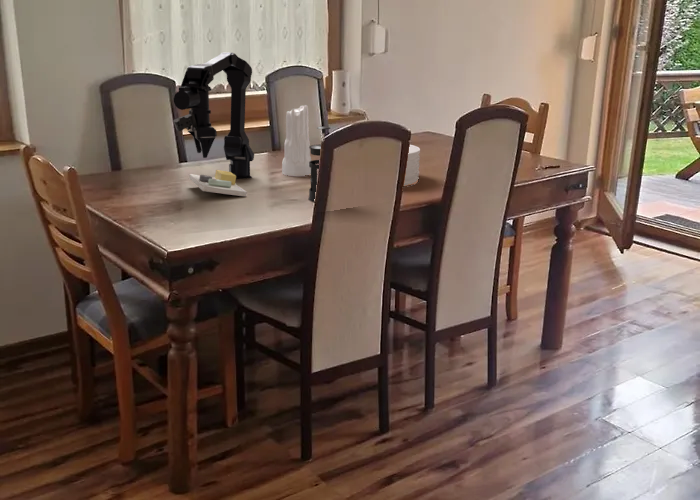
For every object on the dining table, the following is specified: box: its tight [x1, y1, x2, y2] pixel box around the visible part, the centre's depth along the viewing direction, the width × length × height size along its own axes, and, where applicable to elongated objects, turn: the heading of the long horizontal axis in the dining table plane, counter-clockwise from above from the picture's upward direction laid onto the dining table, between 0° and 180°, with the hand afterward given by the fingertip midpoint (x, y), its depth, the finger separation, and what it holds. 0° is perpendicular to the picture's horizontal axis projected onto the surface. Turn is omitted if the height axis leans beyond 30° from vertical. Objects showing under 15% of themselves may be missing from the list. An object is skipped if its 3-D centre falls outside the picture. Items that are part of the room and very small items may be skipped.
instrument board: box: [188, 169, 248, 197], centre depth 253 cm, size 14×20×4 cm
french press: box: [308, 126, 331, 203], centre depth 243 cm, size 12×9×23 cm
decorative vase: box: [281, 104, 312, 177], centre depth 281 cm, size 11×11×25 cm
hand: (201, 155), depth 252 cm, fingers open, 9 cm apart
